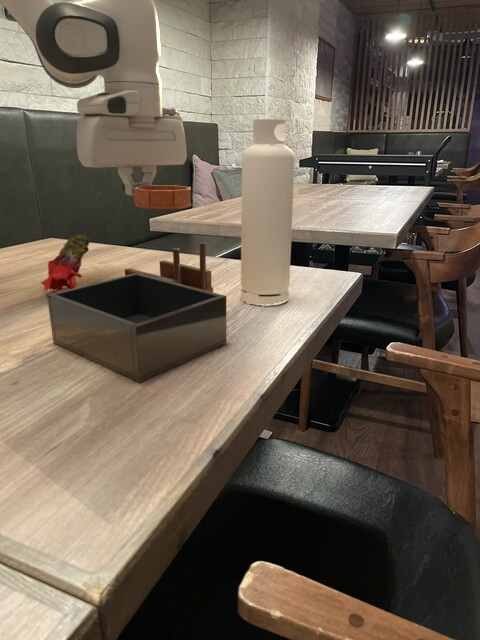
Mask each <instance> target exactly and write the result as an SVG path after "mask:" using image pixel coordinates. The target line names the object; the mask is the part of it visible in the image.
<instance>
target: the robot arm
mask: <svg viewBox="0 0 480 640" xmlns="http://www.w3.org/2000/svg"><path fill="white" fill-rule="evenodd" d="M0 4H1V5H2V6H3V8H4V9H5V10H6V11H7V12H8V13H9V15H10V16H11V17H12V18H13V19H14V20H15V22H16V23H17V24H18V25H19V26H20V27H21V29H22V30H23V31H24V32H25V34H26V35H27V36H28V38H29V40H30V41H31V42H32V45H33V47H34V49H35V52H36V55H37V57H38V60H39V62H40V65H41V67H42V68H43V70H44V71H45V72H44V73H46V75H47V76H49V78H50V79H51V80H52V81H54V82H55V83H57V84H58V85H60V86H63V87H65V88H70V89H81V88H85V87H87V86H89V85H91V84H92V83H93V82H95V80H96V79H97V78H98V76H100V77H102V78H103V85H104V91H102V92H100V93H99V92H98V93H96V94H93V95H90V96H87V97H84V98H81V99H78V100H77V102H76V109H77V112H78V114H79V115H81V117H80V118H79V119H78V121H77V124H76V151H77V152H76V153H77V159H78V161H79V162H80V163H81V165H82V167H85V168H117V174H118V176H119V177H120V179H121V180H122V182H123V184H125V191H124V193H125V195H126V196H134V193H133V188H135V187H136V186H139V185H146V186H149V185H152V183H153V182H154V179H155V178H156V175H157V166H179V165H184V164H185V162H186V160H187V157H188V153H187V152H188V151H187V141H186V134H185V129H184V126H183V117H182V115H181V114H180V113H179V112H178V111H177V109H175V108H172V107H168V108H166V107H163V93H162V90H163V89H162V88H163V87H162V81H161V77H160V73H159V72H160V71H159V66H160V65H159V64H160V60H161V39H160V38H161V36H160V26H159V18H158V12H157V7H156V4H155V2H154V0H67V1H63V2H56V3H54V2H53V1H52V0H0ZM134 167H141V171H142V173H144V174H143V177H142V180H141V182H138V183H135V181H134V179H133V176H132V175H131V174H134Z"/></svg>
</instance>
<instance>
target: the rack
mask: <svg viewBox="0 0 480 640" xmlns="http://www.w3.org/2000/svg"><path fill="white" fill-rule="evenodd" d="M198 248H199V267H195V266H191V265H186V264H183V263H181V260H180V259H181V257H180V248H178V247H174V248H172V261H168V260H160V261H159V275H157V274H153V273H149V272H146V271H141V270H138V269H134V268H131V267H129V268H125V269H124V276H126V275H130V274H134V273H140V274H144V275H148V276H152V277H155V278H159V279H163V280H167V281H171V282H174V283H178V284H182V285H186V286H190V287H194V288H197V289H201V290H205V291H209V292H213V293H214V287H213V286H212V270H209V269H207V265H206V264H207V260H206V258H207V257H206V256H207V255H206V253H207V252H206V251H207V250H206V242H199V247H198Z"/></svg>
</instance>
